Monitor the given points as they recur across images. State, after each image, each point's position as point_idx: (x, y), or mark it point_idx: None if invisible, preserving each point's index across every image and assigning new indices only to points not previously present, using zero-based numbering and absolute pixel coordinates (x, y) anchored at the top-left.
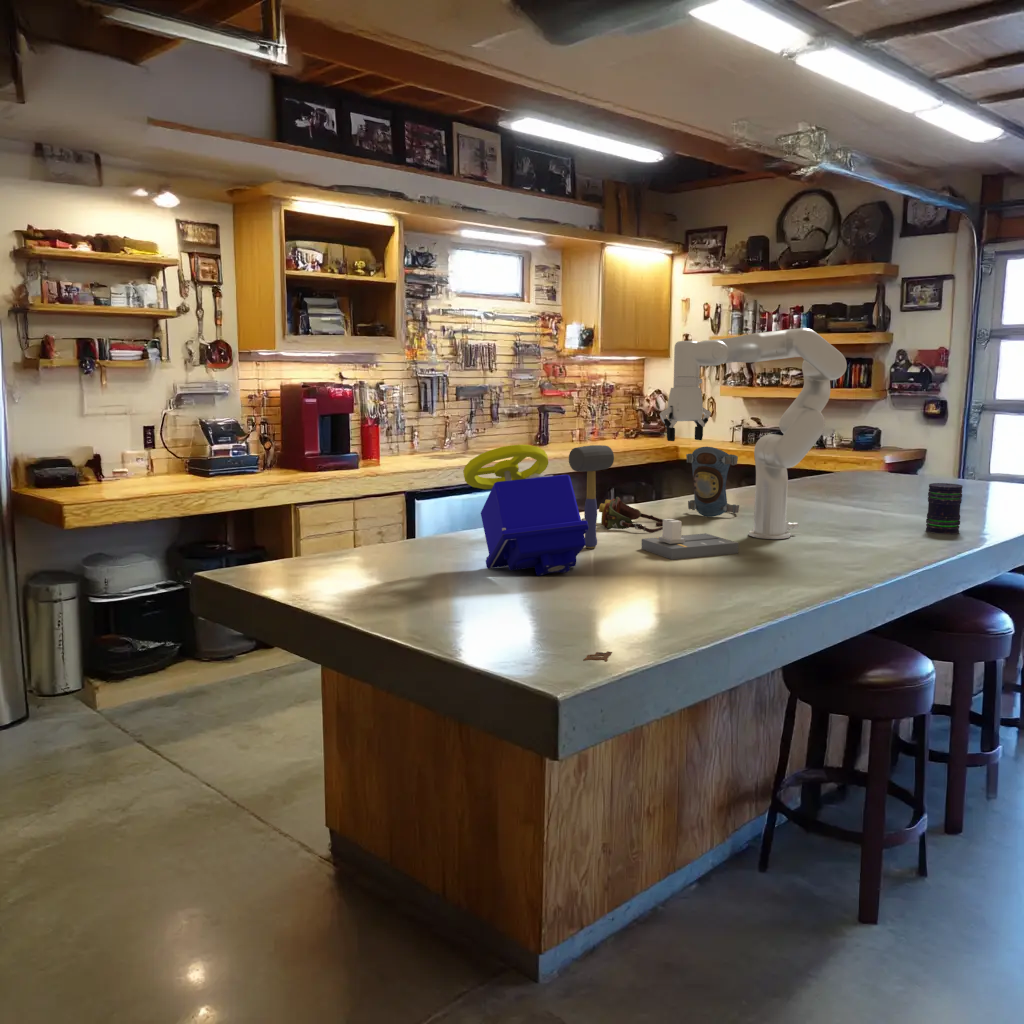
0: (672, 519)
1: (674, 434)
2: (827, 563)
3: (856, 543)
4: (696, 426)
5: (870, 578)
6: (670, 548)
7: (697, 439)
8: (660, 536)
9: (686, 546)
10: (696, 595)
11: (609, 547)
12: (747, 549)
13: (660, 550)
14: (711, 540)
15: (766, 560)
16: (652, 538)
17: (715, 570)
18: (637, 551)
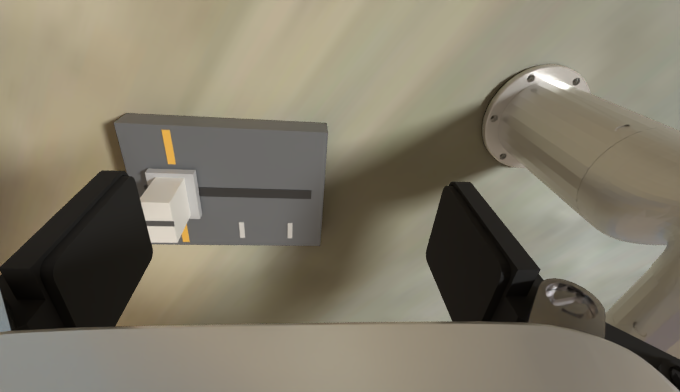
0: (165, 213)
1: (119, 304)
2: None
3: (581, 245)
4: (527, 277)
5: None
6: None
7: (434, 224)
8: (151, 173)
9: (187, 240)
10: None
11: (33, 52)
12: (363, 212)
13: None
14: (281, 208)
15: (323, 287)
16: (147, 132)
17: (195, 309)
18: (105, 133)
